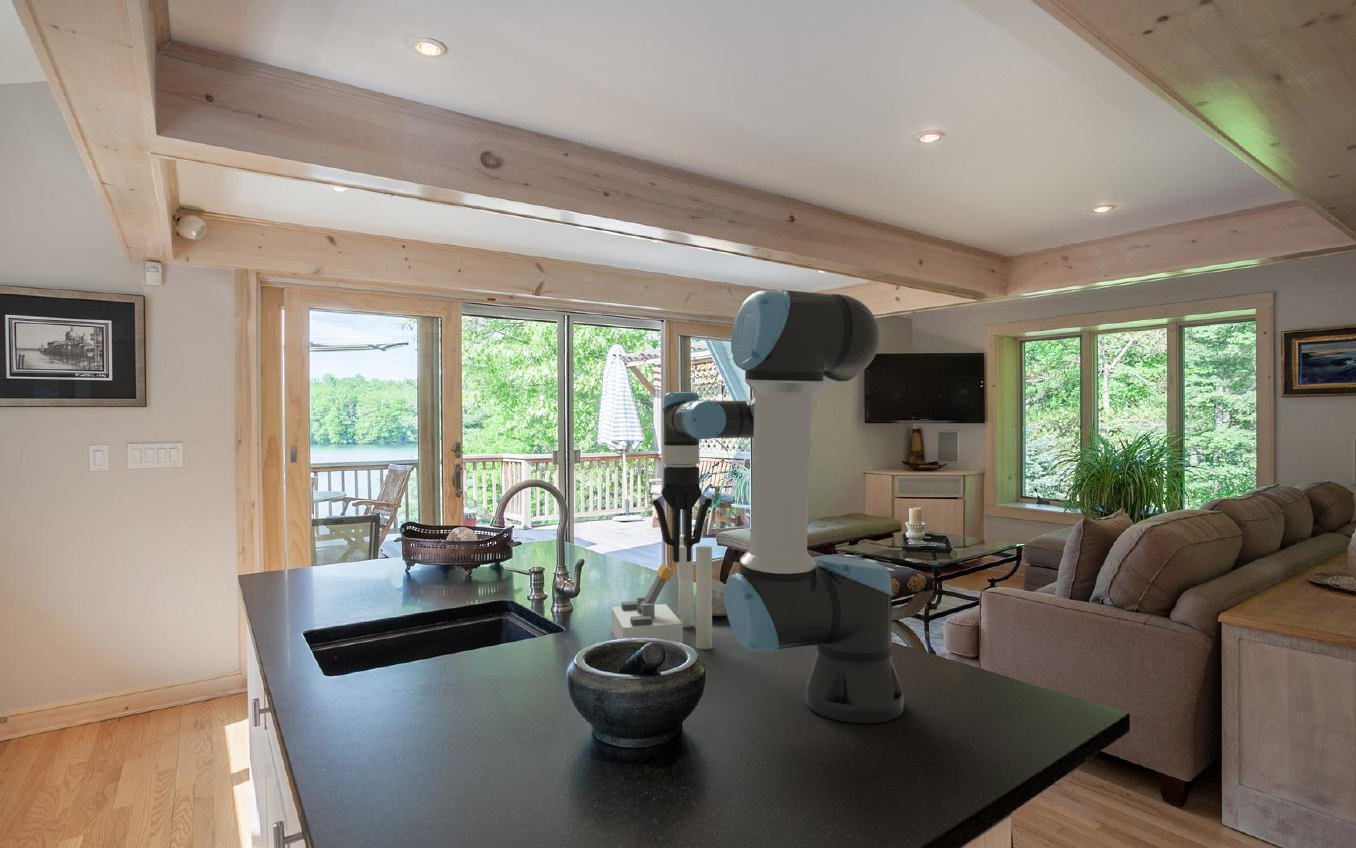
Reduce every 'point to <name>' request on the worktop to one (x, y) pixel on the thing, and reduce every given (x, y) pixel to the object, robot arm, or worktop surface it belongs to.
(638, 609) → the panel
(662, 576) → the breaker lever
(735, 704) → the worktop surface
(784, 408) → the robot arm
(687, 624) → the post far
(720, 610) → the seashell
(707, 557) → the post near
